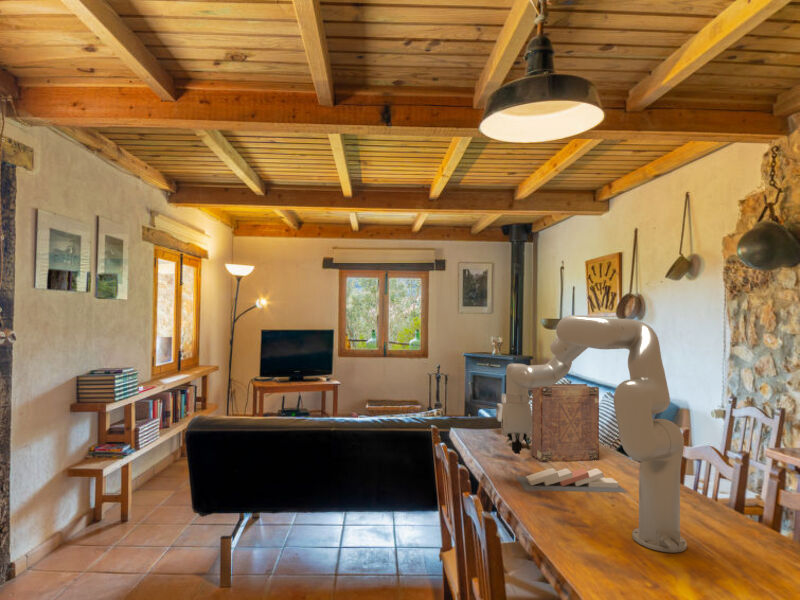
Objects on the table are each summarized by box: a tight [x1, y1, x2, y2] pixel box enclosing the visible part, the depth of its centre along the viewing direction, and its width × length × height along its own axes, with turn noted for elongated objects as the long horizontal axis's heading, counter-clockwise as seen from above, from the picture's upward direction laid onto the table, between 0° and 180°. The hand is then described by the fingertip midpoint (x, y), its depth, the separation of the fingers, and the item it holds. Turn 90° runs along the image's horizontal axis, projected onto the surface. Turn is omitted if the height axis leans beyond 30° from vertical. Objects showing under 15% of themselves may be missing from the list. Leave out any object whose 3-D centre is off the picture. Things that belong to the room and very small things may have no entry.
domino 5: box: [585, 477, 619, 488], centre depth 171 cm, size 5×2×10 cm
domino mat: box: [515, 476, 627, 493], centre depth 171 cm, size 14×34×1 cm, turn 90°
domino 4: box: [573, 467, 605, 486], centre depth 171 cm, size 5×2×10 cm
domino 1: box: [525, 467, 559, 486], centre depth 171 cm, size 5×2×10 cm
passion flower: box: [504, 433, 532, 448], centre depth 221 cm, size 11×11×12 cm
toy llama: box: [495, 392, 506, 423], centre depth 242 cm, size 8×18×20 cm, turn 85°
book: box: [531, 383, 600, 463], centre depth 205 cm, size 25×9×30 cm, turn 101°
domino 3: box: [558, 467, 589, 486], centre depth 171 cm, size 5×2×10 cm
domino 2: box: [542, 467, 573, 486], centre depth 171 cm, size 5×2×10 cm
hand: (516, 452), depth 171 cm, fingers closed
